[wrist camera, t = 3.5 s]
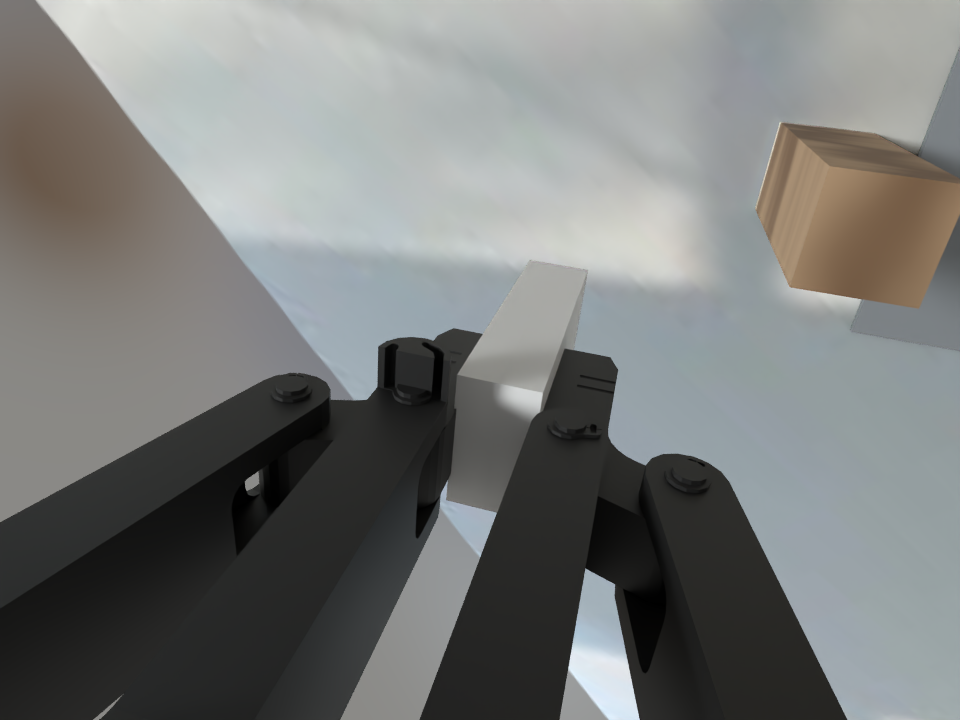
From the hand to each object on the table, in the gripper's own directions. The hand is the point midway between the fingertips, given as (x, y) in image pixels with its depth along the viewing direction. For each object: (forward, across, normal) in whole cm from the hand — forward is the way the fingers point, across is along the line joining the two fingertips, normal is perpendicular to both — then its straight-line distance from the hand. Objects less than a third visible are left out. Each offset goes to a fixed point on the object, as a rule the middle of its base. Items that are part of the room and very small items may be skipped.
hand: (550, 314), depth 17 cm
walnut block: (+27, +11, 0) cm, 29 cm away
